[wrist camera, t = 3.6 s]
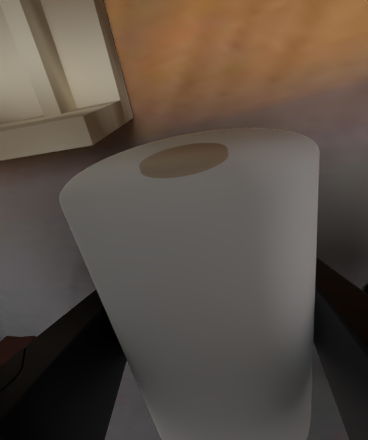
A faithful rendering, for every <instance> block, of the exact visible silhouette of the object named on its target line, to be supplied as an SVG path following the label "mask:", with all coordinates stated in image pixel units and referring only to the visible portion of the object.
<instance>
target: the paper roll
mask: <svg viewBox="0 0 368 440" xmlns="http://www.w3.org/2000/svg"><path fill="white" fill-rule="evenodd" d="M319 155H320V152H319V148H318V146H317V144H316V143H315V142H314V141H313V140H312V139H310V138H309V137H307V136H304V135H302V134H299V133H296V132H293V131H288V130H282V129H274V128H253V127H252V128H228V129H217V130H209V131H202V132H195V133H190V134H184V135H179V136H174V137H170V138H166V139H162V140H158V141H154V142H150V143H147V144H143V145H140V146H137V147H134V148H131V149H128V150H125V151H123V152H120V153H117V154H115V155H112V156H110V157H108V158H105V159H103V160H101V161H99V162H97V163H95V164H93V165H91V166H89V167H88V168H86V169H84V170H83V171H81V172H80V173H78V174H77V175H76V176H74V177H73V178H72V179H71V180H70V181H68V182H67V183H66V185H65V186H64V187H63V188H62V190H61V192H60V194H59V203H60V206H61V209H62V211H63V213H64V216H65V218H66V220H67V223H68V225H69V227H70V229H71V232H72V234H73V236H74V239H75V241H76V243H77V246H78V248H79V250H80V253H81V255H82V257H83V260H84V262H85V264H86V266H87V269H88V271H89V273H90V276H91V278H92V280H93V283H94V285H95V287H96V290H97V292H98V294H99V297H100V299H101V301H102V304H103V306H104V308H105V310H106V313H107V315H108V317H109V320H110V322H111V324H112V327H113V329H114V331H115V334H116V336H117V338H118V341H119V343H120V345H121V347H122V350H123V352H124V354H125V357H126V359H127V361H128V364H129V366H130V368H131V371H132V373H133V375H134V378H135V380H136V382H137V385H138V387H139V389H140V391H141V394H142V396H143V398H144V401H145V403H146V405H147V408H148V410H149V412H150V415H151V417H152V419H153V422H154V424H155V426H156V428H157V431H158V433H159V435H160V438H161V440H307V437H308V433H309V429H310V422H311V403H312V372H313V341H314V310H315V279H316V248H317V217H318V186H319Z"/></svg>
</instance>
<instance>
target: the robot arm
mask: <svg viewBox="0 0 368 440" xmlns="http://www.w3.org/2000/svg"><path fill="white" fill-rule="evenodd" d="M314 344H315V347H316V349H317V352H318V355H319V357H320V360H321V363H322V366H323V368H324V371H325V374H326V377H327V379H328V382H329V385H330V388H331V390H332V393H333V396H334V398H335V401H336V404H337V407H338V409H339V412H340V415H341V418H342V420H343V423H344V426H345V429H346V431H347V434H348V437H349V440H368V286H367V287H366V289H365V292H363V291H362V290H361V289H359V288H358V287H357V286H355V285H354V284H352V283H351V282H350V281H348V280H347V279H346V278H344V277H343V276H341V275H340V274H339V273H337V272H336V271H335V270H333V269H332V268H330V267H329V266H328V265H326V264H325V263H324V262H322V261H321V260H319V259H318V258H316V279H315V310H314ZM126 361H127V359H126V357H125V354H124V352H123V350H122V347H121V345H120V343H119V341H118V338H117V336H116V334H115V331H114V329H113V327H112V324H111V322H110V320H109V317H108V315H107V313H106V310H105V308H104V306H103V304H102V301H101V299H100V297H99V294H98V292H97V290H95V291H94V292H92V293H91V294H90V295H89V296H87V297H86V298H85V299H84V300H82V301H81V302H80V303H79V304H77V305H76V306H75V307H74V308H72V309H71V310H70V311H69V312H67V313H66V314H65V315H64V316H62V317H61V318H60V319H59V320H57V321H56V322H55V323H54V324H52V325H51V326H50V327H49V328H47V329H46V330H45V331H44V332H43V333H41V334H40V335H39V336H38V337H36V338H35V339H34V340H33V341H31V342H30V343H29V344H28V345H26V348H22V349H21V350H20V351H19V352H18V353H16V354H15V355H14V356H13V357H11V358H10V359H9V360H7V361H6V362H5V363H4V364H2V365H1V366H0V440H105V436H106V432H107V429H108V425H109V422H110V418H111V415H112V411H113V407H114V404H115V400H116V397H117V393H118V390H119V386H120V382H121V379H122V375H123V372H124V368H125V365H126Z"/></svg>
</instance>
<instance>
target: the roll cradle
mask: <svg viewBox="0 0 368 440" xmlns="http://www.w3.org/2000/svg"><path fill="white" fill-rule="evenodd" d="M131 119H133V114H132V110H131V106H130V102H129V98H128V94H127V91H126V87H125V83H124V79H123V75H122V71H121V67H120V63H119V60H118V56H117V52H116V48H115V44H114V40H113V36H112V32H111V28H110V25H109V21H108V17H107V13H106V9H105V5H104V1H103V0H0V161H1V160H7V159H13V158H19V157H25V156H31V155H37V154H43V153H49V152H55V151H61V150H67V149H73V148H79V147H85V146H91V145H94V144H95V143H97V142H98V141H100V140H101V139H103V138H104V137H106V136H107V135H109V134H110V133H112V132H113V131H115V130H116V129H118V128H119V127H121V126H122V125H124V124H125V123H127V122H128V121H130V120H131Z"/></svg>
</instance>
